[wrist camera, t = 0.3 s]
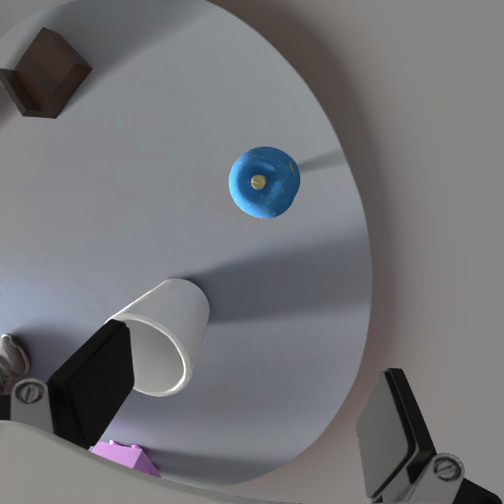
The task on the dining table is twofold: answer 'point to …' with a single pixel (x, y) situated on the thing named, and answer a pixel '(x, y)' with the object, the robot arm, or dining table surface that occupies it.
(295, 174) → the ornament
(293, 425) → the dining table surface
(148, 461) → the teapot
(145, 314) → the cup
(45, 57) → the shelf
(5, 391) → the athletic shoe
